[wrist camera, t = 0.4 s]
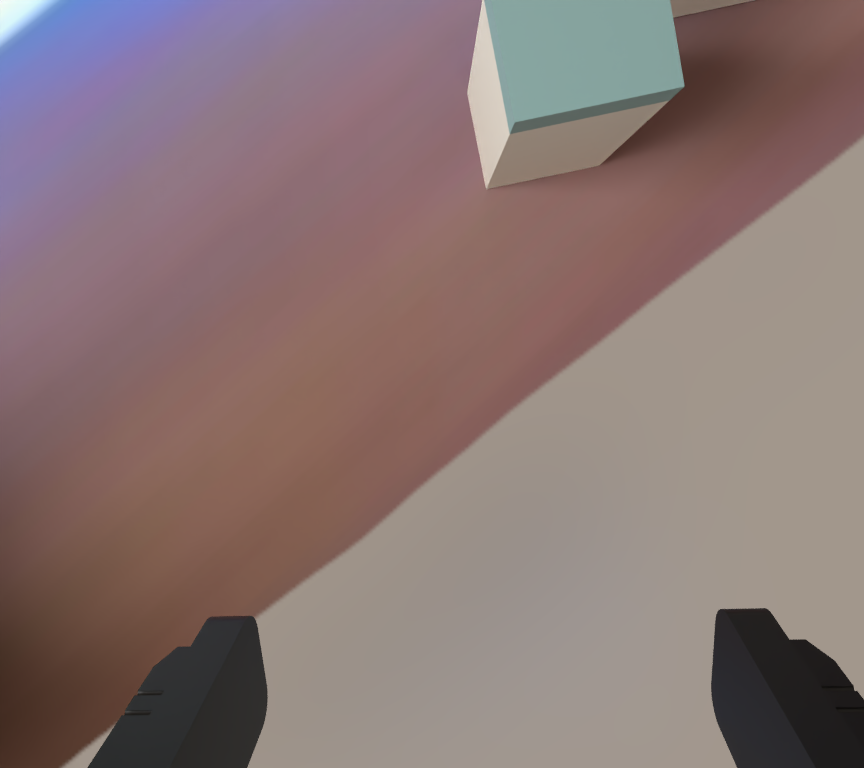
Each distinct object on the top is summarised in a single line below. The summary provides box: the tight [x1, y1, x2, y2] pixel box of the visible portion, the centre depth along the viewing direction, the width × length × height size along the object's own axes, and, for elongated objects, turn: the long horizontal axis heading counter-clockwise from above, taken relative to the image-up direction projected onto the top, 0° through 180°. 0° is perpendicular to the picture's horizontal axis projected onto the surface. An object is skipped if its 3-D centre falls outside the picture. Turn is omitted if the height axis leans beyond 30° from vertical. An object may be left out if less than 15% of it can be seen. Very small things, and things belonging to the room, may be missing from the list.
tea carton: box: [467, 0, 685, 189], centre depth 30 cm, size 5×6×12 cm
